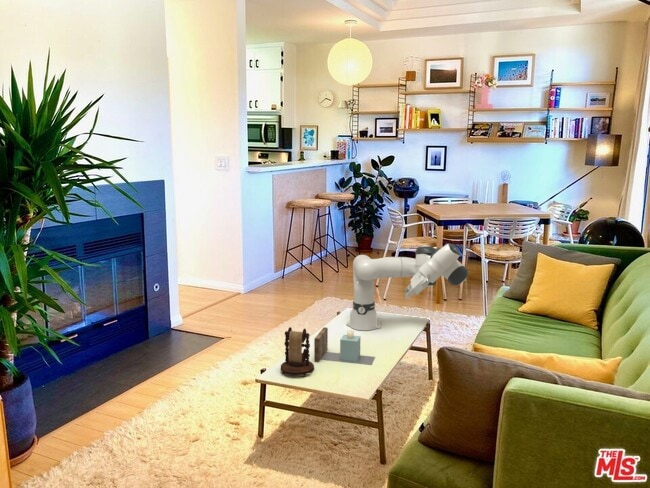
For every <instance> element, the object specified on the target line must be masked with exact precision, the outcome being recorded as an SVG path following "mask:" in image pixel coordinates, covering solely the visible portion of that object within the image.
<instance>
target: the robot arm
mask: <svg viewBox="0 0 650 488" xmlns="http://www.w3.org/2000/svg"><path fill="white" fill-rule="evenodd" d="M460 256H461V253H460V252H459V249H457V248H456V247H455V246H454V245H453V244H451V243H446V244H444V246H442V247H437V248H434V247H433V246H431V245H428V244H427V245H425V244H424V245H423V244H422V245H420V246H418V247H417V248H416V249H415V258H413V257H407V256H385V257H381V258H371V257H369V256H368V255H367V254H359V255H357V256H355V258H354V259H353V262H352V279H353V301H352V309H351V310H350V312H349V320H348V322H346V326H347V327H350V328H351V329H353V330H357V331H370V330H372V331H373V330H375V329H381V319H380V318H379V317H378V313H377V310H376V303H375V283H374V280H379V279H384V278H409V277H412V278H410V284H408V286H407V287H406V288H405V289H404V293H405V294H404V297H405V298H406V299H409V298H410V297H412V296H413V295H416V296H417V295H419V294H420V293H421V292H422V291H423V290H424V289H426V288H431V287H433V286H435V285H436V284H437V280H438V279H439V278H440V277H441V276H442V277H443V278H445V279H446V280H447V282H448V283H449V284H450V285H451V286H459V285H462V284H463V283H464V282H465V281H466V280H467V278H468V276H469V270H468V268H467V267H466V266H464V264H462V263H461V262H460V261H459V257H460Z"/></svg>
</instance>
